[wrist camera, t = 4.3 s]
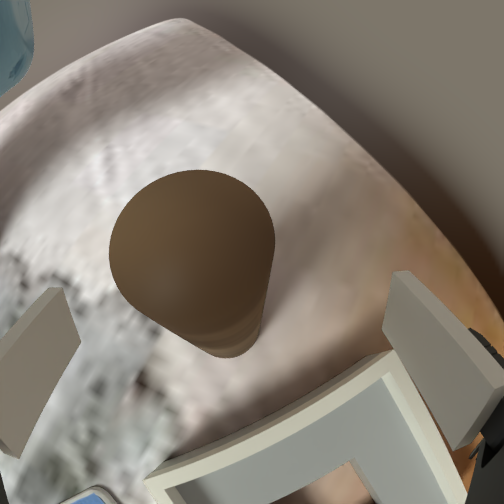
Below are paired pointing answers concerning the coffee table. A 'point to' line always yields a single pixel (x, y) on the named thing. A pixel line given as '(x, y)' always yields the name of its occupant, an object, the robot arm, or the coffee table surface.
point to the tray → (325, 446)
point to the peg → (196, 258)
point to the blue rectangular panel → (91, 497)
